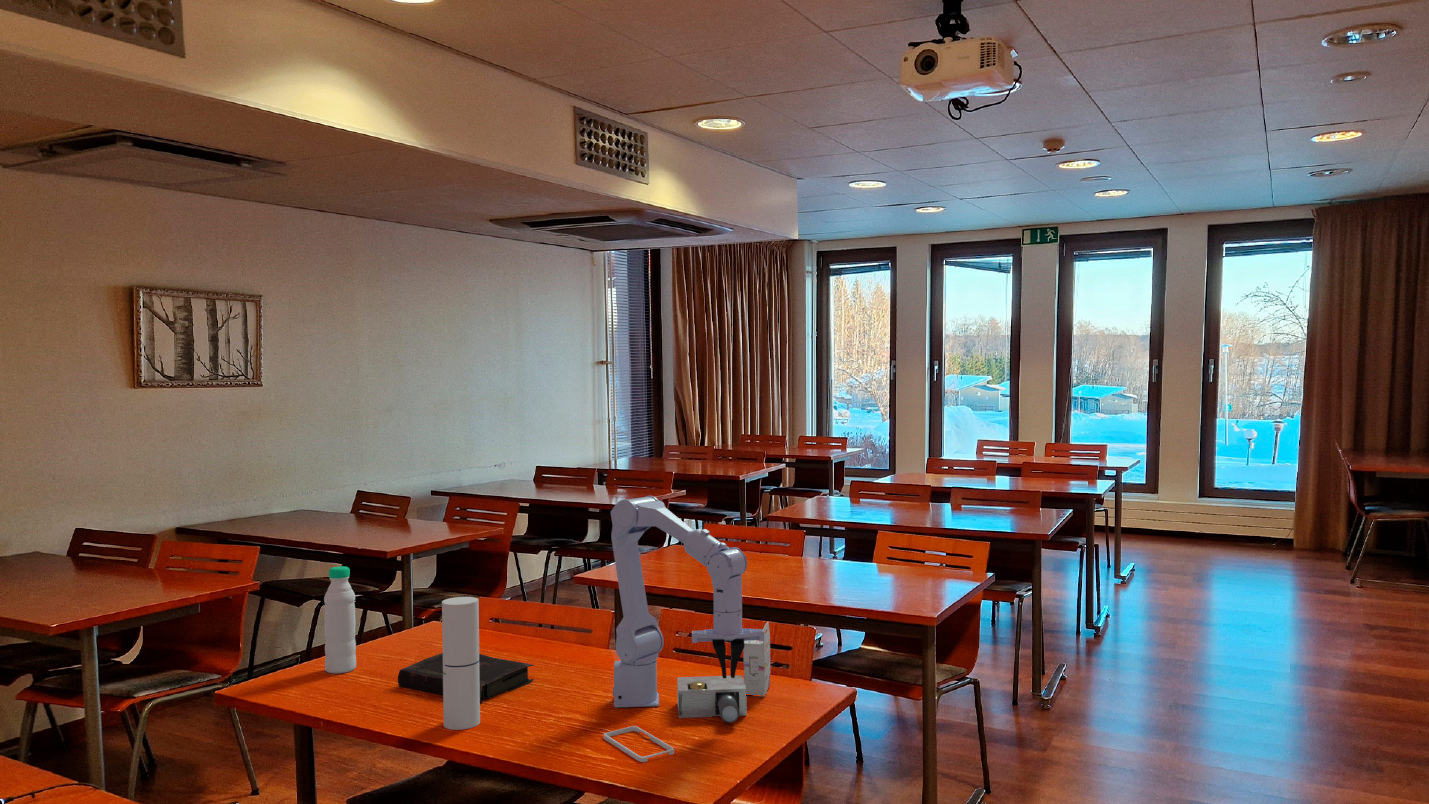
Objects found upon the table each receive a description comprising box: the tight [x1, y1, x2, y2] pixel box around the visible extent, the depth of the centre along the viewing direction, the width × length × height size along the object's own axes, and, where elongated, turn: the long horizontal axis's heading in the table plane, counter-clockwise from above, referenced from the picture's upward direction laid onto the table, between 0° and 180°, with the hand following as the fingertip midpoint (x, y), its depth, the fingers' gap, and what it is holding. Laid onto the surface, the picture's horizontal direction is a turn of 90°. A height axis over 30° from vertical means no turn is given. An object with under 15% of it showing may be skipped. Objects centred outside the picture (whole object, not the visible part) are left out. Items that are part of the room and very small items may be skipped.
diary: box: [397, 652, 535, 704], centre depth 216 cm, size 19×25×5 cm
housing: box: [676, 674, 748, 719], centre depth 197 cm, size 14×9×6 cm, turn 94°
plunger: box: [690, 681, 705, 690], centre depth 195 cm, size 3×3×2 cm
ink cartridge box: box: [742, 621, 771, 697], centre depth 209 cm, size 9×5×15 cm, turn 168°
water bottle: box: [323, 565, 357, 675], centre depth 227 cm, size 7×7×25 cm
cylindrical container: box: [441, 596, 481, 731], centre depth 190 cm, size 7×7×25 cm
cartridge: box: [716, 692, 740, 724], centre depth 192 cm, size 4×12×4 cm, turn 4°
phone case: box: [603, 725, 675, 763], centre depth 177 cm, size 7×1×15 cm
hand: (728, 676), depth 188 cm, fingers closed
